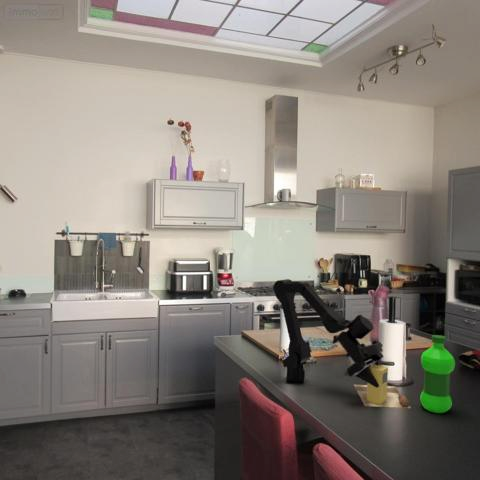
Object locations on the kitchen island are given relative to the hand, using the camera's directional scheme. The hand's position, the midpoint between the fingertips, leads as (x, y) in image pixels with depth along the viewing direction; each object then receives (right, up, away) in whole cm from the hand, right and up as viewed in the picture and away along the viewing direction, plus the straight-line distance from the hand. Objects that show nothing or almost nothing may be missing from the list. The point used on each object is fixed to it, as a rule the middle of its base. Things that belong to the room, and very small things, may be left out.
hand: (381, 384), depth 168 cm
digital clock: (+2, -5, +36) cm, 36 cm away
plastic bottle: (+16, -8, -5) cm, 19 cm away
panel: (+2, -6, +7) cm, 9 cm away
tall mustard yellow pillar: (-1, -6, +1) cm, 6 cm away
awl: (+7, -6, +1) cm, 10 cm away
